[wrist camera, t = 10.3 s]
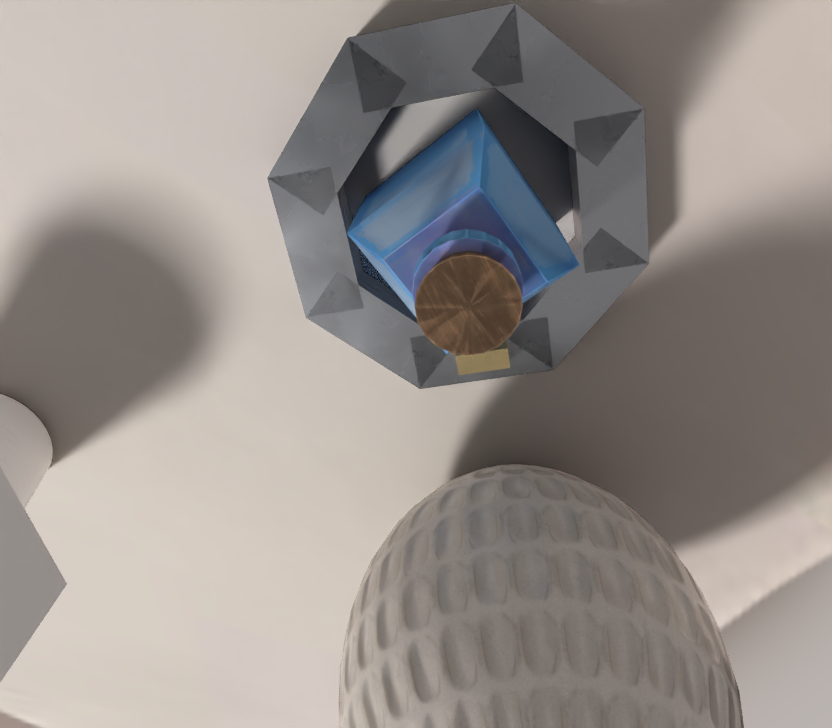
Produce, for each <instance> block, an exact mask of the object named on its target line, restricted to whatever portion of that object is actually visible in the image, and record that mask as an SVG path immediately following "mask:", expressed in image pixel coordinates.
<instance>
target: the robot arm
mask: <svg viewBox="0 0 832 728" xmlns="http://www.w3.org/2000/svg"><path fill="white" fill-rule="evenodd" d="M66 585H67V583H66V581H65V580H64V578H63V576H62V574H61V573H60V571H59V569H58V567H57V566H56V564H55V562H54V560H53V559H52V557H51V555H50V553H49V551H48V550H47V548H46V546H45V544H44V543H43V541H42V539H41V537H40V536H39V534H38V532H37V530H36V529H35V527H34V525H33V523H32V522H31V520H30V518H29V516H28V515H27V513H26V511H25V509H24V507H23V506H22V504H21V502H20V500H19V499H18V497H17V495H16V493H15V492H14V490H13V488H12V486H11V485H10V483H9V481H8V479H7V478H6V476H5V474H4V472H3V470H2V469H1V467H0V682H1V681H2V679H3V678H4V676H5V675H6V673H7V672H8V670H9V669H10V667H11V666H12V664H13V663H14V661H15V660H16V659H17V657H18V656H19V654H20V653H21V651H22V650H23V648H24V647H25V645H26V644H27V642H28V641H29V639H30V638H31V636H32V635H33V633H34V632H35V630H36V629H37V627H38V626H39V625H40V623H41V622H42V620H43V619H44V617H45V616H46V614H47V613H48V611H49V610H50V608H51V607H52V605H53V604H54V602H55V601H56V599H57V598H58V596H59V595H60V594H61V592H62V591H63V589H64V588H65V586H66Z"/></svg>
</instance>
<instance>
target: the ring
mask: <svg viewBox="0 0 832 728" xmlns="http://www.w3.org/2000/svg"><path fill="white" fill-rule="evenodd" d="M490 88H496V89H497V90H498V91H500V92H501V93H502V94H503V95H505V96H506V97H507V98H509V99H510V100H511V101H512V102H514V103H515V104H516V105H518V106H519V107H520V108H521V109H523V110H524V111H525V112H527V113H528V114H529V115H531V116H532V117H533V118H534V119H536V120H537V121H538V122H540V123H541V124H542V125H543V126H545V127H546V128H547V129H549V130H550V131H551V132H553V133H554V134H555V135H556V136H558V137H559V138H560V139H562V140H563V141H564V142H565V143H567V144H568V153H569V165H570V178H571V190H572V203H573V216H574V228H575V237H574V238H573V239H572V240H571V242H570V243H569V244H568V245H569V247H570V249H571V251H572V252H573V254H574V256H575V257H576V259H577V261H578V263H579V264H580V266H578V267H577V268H575V269H574V270H572V271H571V272H569V273H568V274H566V275H565V276H563V277H562V278H560V279H559V280H557V281H556V282H554V283H553V284H551V285H550V286H548V287H547V288H545V289H544V290H542V291H541V292H539V293H538V294H536V295H535V296H533V297H532V298H530V299H529V300H527V301H526V302H524V303H523V307H522V312H521V317H520V321H519V323H518V325H517V327H516V328H515V330H514V332H513V333H512V335H511V336H510V337H509V338H508V339H507V340H506V341H504V342H503V343H502V344H501V345H500V346H498V347H496V348H494V349H492V350H490V351H488V352H485V353H481V354H475V355H461V354H453V353H450V352H449V353H448V354H446V353H445V352H444V351H443V350H442V349H441V348H439V347H437V346H436V345H435V344H434V343H432V342H431V341H430V340H429V339H428V338H427V337H426V336H425V335H424V333H423V331H422V330H421V328H420V326H419V324H418V323H417V318H416V317H415V316H414V314H413V313H412V312H411V311H410V309H409V308H408V307H407V306H406V305H405V303H404V302H403V301H402V300H401V298H400V297H399V296H398V295H397V294H396V292H395V291H393V290H392V289H390V288H389V287H387V286H385V285H384V284H382V283H381V282H379V281H378V280H376V279H375V278H373V277H372V276H370V275H369V274H367V273H366V272H364V271H363V267H362V263H361V258H360V254H359V250H358V246H357V245H356V244H355V243H354V241H353V240H352V239H351V238H350V237H349V235H348V234H347V232H348V230H349V228H350V226H351V224H352V219H351V215H350V210H349V206H348V201H347V197H346V193H345V188H344V182H345V181H346V179H347V178H348V176H349V175H350V173H351V171H352V170H353V168H354V167H355V165H356V163H357V162H358V160H359V159H360V157H361V155H362V154H363V152H364V151H365V149H366V148H367V146H368V144H369V143H370V141H371V140H372V138H373V136H374V135H375V133H376V132H377V130H378V128H379V127H380V125H381V124H382V122H383V121H384V119H385V117H386V116H387V114H388V113H389V111H390V109H391V108H392V107H397V106H402V105H407V104H413V103H418V102H423V101H428V100H433V99H438V98H444V97H449V96H454V95H459V94H464V93H469V92H474V91H480V90H485V89H490ZM267 179H268V182H269V186H270V190H271V193H272V197H273V200H274V204H275V208H276V211H277V215H278V218H279V222H280V226H281V229H282V233H283V237H284V240H285V244H286V247H287V251H288V255H289V258H290V262H291V265H292V269H293V273H294V276H295V280H296V283H297V287H298V291H299V294H300V298H301V301H302V305H303V309H304V312H305V316H306V318H307V319H309V320H311V321H312V322H314V323H315V324H317V325H319V326H320V327H322V328H323V329H325V330H327V331H328V332H330V333H331V334H333V335H335V336H336V337H338V338H339V339H341V340H343V341H344V342H346V343H347V344H349V345H351V346H352V347H354V348H355V349H357V350H359V351H360V352H362V353H363V354H365V355H367V356H368V357H370V358H371V359H373V360H375V361H376V362H378V363H379V364H381V365H383V366H384V367H386V368H387V369H389V370H391V371H392V372H394V373H395V374H397V375H399V376H400V377H402V378H403V379H405V380H407V381H408V382H410V383H411V384H413V385H415V386H416V387H418V388H419V389H423V388H430V387H437V386H444V385H451V384H458V383H465V382H472V381H479V380H486V379H493V378H500V377H507V376H514V375H521V374H528V373H535V372H542V371H549V370H554V369H555V368H556V367H557V365H558V364H559V363H560V362H561V361H562V360H563V359H564V358H565V357H566V355H567V354H568V353H569V352H570V351H571V350H572V349H573V348H574V346H575V345H576V344H577V343H578V342H579V341H580V340H581V339H582V338H583V336H584V335H585V334H586V333H587V332H588V331H589V330H590V329H591V327H592V326H593V325H594V324H595V323H596V322H597V321H598V320H599V319H600V317H601V316H602V315H603V314H604V313H605V312H606V311H607V310H608V308H609V307H610V306H611V305H612V304H613V303H614V302H615V301H616V300H617V298H618V297H619V296H620V295H621V294H622V293H623V292H624V291H625V290H626V288H627V287H628V286H629V285H630V284H631V283H632V282H633V281H634V279H635V278H636V277H637V276H638V275H639V274H640V273H641V272H642V271H643V269H644V268H645V267H646V266H647V265H648V264H649V245H648V212H647V179H646V145H645V112H644V107H642V106H641V105H640V104H639V103H637V102H636V101H635V100H634V99H633V98H631V97H630V96H629V95H628V94H626V93H625V92H624V91H623V90H622V89H620V88H619V87H618V86H617V85H615V84H614V83H613V82H612V81H611V80H609V79H608V78H607V77H606V76H604V75H603V74H602V73H601V72H600V71H598V70H597V69H596V68H595V67H593V66H592V65H591V64H590V63H588V62H587V61H586V60H585V59H584V58H582V57H581V56H580V55H579V54H577V53H576V52H575V51H574V50H573V49H571V48H570V47H569V46H568V45H566V44H565V43H564V42H563V41H562V40H560V39H559V38H558V37H557V36H555V35H554V34H553V33H552V32H551V31H549V30H548V29H547V28H546V27H544V26H543V25H542V24H541V23H540V22H538V21H537V20H536V19H535V18H533V17H532V16H531V15H530V14H528V13H527V12H526V11H525V10H524V9H522V8H521V7H520V6H519V5H517V4H516V3H512V4H508V5H503V6H498V7H493V8H488V9H484V10H479V11H474V12H469V13H464V14H460V15H455V16H450V17H445V18H440V19H436V20H431V21H426V22H421V23H416V24H412V25H407V26H402V27H397V28H392V29H388V30H383V31H378V32H373V33H368V34H364V35H359V36H354V37H349V38H347V40H346V42H345V43H344V45H343V47H342V49H341V50H340V52H339V54H338V56H337V57H336V59H335V61H334V63H333V64H332V66H331V68H330V69H329V71H328V73H327V75H326V76H325V78H324V80H323V82H322V83H321V85H320V87H319V89H318V90H317V92H316V94H315V96H314V97H313V99H312V101H311V103H310V104H309V106H308V108H307V110H306V111H305V113H304V115H303V117H302V118H301V120H300V122H299V124H298V125H297V127H296V129H295V131H294V132H293V134H292V136H291V138H290V139H289V141H288V143H287V145H286V146H285V148H284V150H283V152H282V153H281V155H280V157H279V159H278V160H277V162H276V164H275V165H274V167H273V169H272V171H271V172H270V174H269V176H268V178H267Z"/></svg>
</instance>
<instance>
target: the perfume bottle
mask: <svg viewBox="0 0 832 728" xmlns="http://www.w3.org/2000/svg"><path fill="white" fill-rule="evenodd" d="M347 234H348V235H349V237H350V238H351V239H352V240H353V241H354V243H355V244H356V245H357V246H358V247H359V249H360V250H361V251H362V252H363V254H364V255H365V256H366V257H367V258H368V260H369V261H370V262H371V263H372V264H373V266H374V267H375V268H376V269H377V271H378V272H379V273H380V274H381V275H382V277H383V278H384V279H385V280H386V281H387V283H388V284H389V285H390V286H391V288H392V289H393V290H394V291H395V292H396V294H397V295H398V296H399V297H400V298H401V300H402V301H403V302H404V303H405V305H406V306H407V307H408V308H409V309H410V311H411V312H412V313H413V314H414V316H415V317H416V318H417V323H418V324H419V326H420V328H421V330H422V331H423V333H424V335H425V336H426V337H427V338H428V339H429V340H430V341H431V342H432V343H434V344H435V345H436V346H437V347H439V348H441V349H442V350H443V351H444V352H445V353H446V354H448V353H449V352H450V353H453V354H461V355H475V354H481V353H485V352H488V351H490V350H492V349H494V348H496V347H498V346H500V345H501V344H502V343H503V342H504V341H506V340H507V339H508V338H509V337H510V336H511V335H512V333H513V332H514V330H515V328H516V327H517V325H518V323H519V321H520V317H521V312H522V307H523V303H524V302H526V301H527V300H529V299H530V298H532V297H533V296H535V295H536V294H538V293H539V292H541V291H542V290H544V289H545V288H547V287H548V286H550V285H551V284H553V283H554V282H556V281H557V280H559V279H560V278H562V277H563V276H565V275H566V274H568V273H569V272H571V271H572V270H574V269H575V268H577V267H578V266H580V264H579V263H578V261H577V259H576V257H575V256H574V254H573V252H572V251H571V249H570V247H569V245H568V244H567V242H566V240H565V238H564V237H563V235H562V233H561V231H560V230H559V228H558V226H557V225H556V223H555V221H554V220H553V218H552V217H551V216H550V214H549V213H548V211H547V210H546V208H545V207H544V205H543V204H542V202H541V201H540V200H539V198H538V197H537V195H536V194H535V192H534V191H533V189H532V188H531V186H530V185H529V183H528V182H527V181H526V179H525V178H524V176H523V175H522V173H521V172H520V170H519V169H518V167H517V166H516V164H515V163H514V162H513V160H512V159H511V157H510V156H509V154H508V153H507V151H506V150H505V148H504V147H503V146H502V144H501V143H500V141H499V140H498V138H497V137H496V135H495V134H494V132H493V131H492V129H491V128H490V127H489V125H488V124H487V122H486V121H485V119H484V118H483V116H482V115H481V113H480V112H479V111H478V109H477V108H476V109H475V110H474V111H473V112H471V113H470V114H469V115H468V116H466V117H465V118H464V119H463V120H461V121H460V122H459V123H458V124H456V125H455V126H454V127H452V128H451V129H450V130H449V131H447V132H446V133H445V134H444V135H442V136H441V137H440V138H439V139H437V140H436V141H435V142H434V143H432V144H431V145H430V146H429V147H427V148H426V149H425V150H424V151H422V152H421V153H420V154H419V155H417V156H416V157H415V158H413V159H412V160H411V161H410V162H408V163H407V164H406V165H405V166H403V167H402V168H401V169H400V170H398V171H397V172H396V173H395V174H393V175H392V176H391V177H390V178H388V179H387V180H386V181H385V182H383V183H382V184H381V185H379V186H378V187H377V188H376V189H374V190H373V191H372V192H371V193H369V194H368V195H367V196H366V197H365V198H364V200H363V202H362V204H361V206H360V208H359V210H358V212H357V214H356V216H355V218H354V220H353V222H352V224H351V226H350V228H349V230H348V232H347Z"/></svg>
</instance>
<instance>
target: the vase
mask: <svg viewBox="0 0 832 728" xmlns="http://www.w3.org/2000/svg"><path fill="white" fill-rule="evenodd" d="M339 728H744V724H743V716H742V709H741V701H740V694H739V689H738V686H737V682H736V679H735V676H734V673H733V670H732V667H731V663H730V660H729V657H728V653H727V650H726V647H725V645H724V642H723V639H722V636H721V633H720V630H719V628H718V626H717V623H716V621H715V619H714V617H713V615H712V613H711V611H710V609H709V606H708V604H707V602H706V600H705V598H704V596H703V594H702V592H701V590H700V589H699V587H698V585H697V584H696V582H695V581H694V579H693V577H692V576H691V574H690V573H689V571H688V570H687V568H686V567H685V566H684V564H683V563H682V562H681V560H680V559H679V557H678V556H677V555H676V553H675V552H674V550H673V549H672V548H671V546H670V545H669V544H668V542H667V541H666V540H665V539H664V538H663V537H662V536H661V535H660V534H659V533H658V532H657V531H656V530H655V529H654V528H653V527H652V526H651V525H650V524H649V523H648V522H647V521H646V520H644V519H643V518H642V517H641V516H640V515H639V514H638V513H636V512H635V511H634V510H633V509H632V508H631V507H630V506H628V505H627V504H625V503H624V502H623V501H621V500H620V499H619V498H617V497H616V496H615V495H613V494H611V493H609V492H607V491H606V490H604V489H602V488H600V487H598V486H596V485H594V484H592V483H590V482H587V481H585V480H583V479H581V478H579V477H576V476H574V475H571V474H568V473H565V472H562V471H559V470H555V469H550V468H545V467H540V466H533V465H520V464H510V465H497V466H492V467H487V468H483V469H480V470H477V471H474V472H471V473H468V474H465V475H462V476H460V477H458V478H456V479H454V480H452V481H450V482H448V483H446V484H444V485H442V486H441V487H440V488H438V489H437V490H435V491H434V492H432V493H431V494H430V495H428V496H427V497H426V498H424V499H423V500H422V501H420V502H419V503H418V504H417V505H415V506H414V507H413V508H412V509H411V510H410V511H409V512H408V513H407V514H406V515H405V516H404V517H403V518H402V519H401V520H400V521H399V522H398V523H397V524H396V526H395V527H394V528H393V530H392V531H391V533H390V534H389V535H388V537H387V538H386V540H385V541H384V543H383V544H382V546H381V547H380V549H379V550H378V552H377V553H376V555H375V556H374V558H373V559H372V560H371V563H370V565H369V567H368V569H367V571H366V573H365V576H364V578H363V580H362V583H361V585H360V588H359V591H358V593H357V596H356V599H355V601H354V604H353V607H352V609H351V613H350V618H349V622H348V627H347V631H346V637H345V643H344V648H343V654H342V659H341V665H340V686H339Z"/></svg>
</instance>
